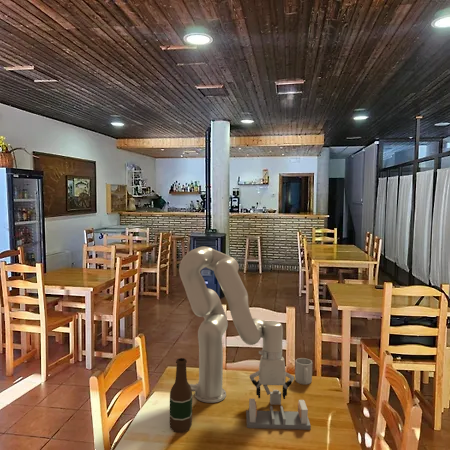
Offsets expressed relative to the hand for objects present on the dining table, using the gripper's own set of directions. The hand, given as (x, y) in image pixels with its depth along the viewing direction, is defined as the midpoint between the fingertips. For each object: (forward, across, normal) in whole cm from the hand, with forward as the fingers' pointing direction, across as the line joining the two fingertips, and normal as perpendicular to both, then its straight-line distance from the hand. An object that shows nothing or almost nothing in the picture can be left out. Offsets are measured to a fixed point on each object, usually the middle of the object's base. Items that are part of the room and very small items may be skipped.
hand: (271, 397), depth 158 cm
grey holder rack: (+2, +1, -13) cm, 13 cm away
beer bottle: (+3, -33, -18) cm, 38 cm away
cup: (+3, +16, +19) cm, 25 cm away
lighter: (+3, 0, 0) cm, 3 cm away
